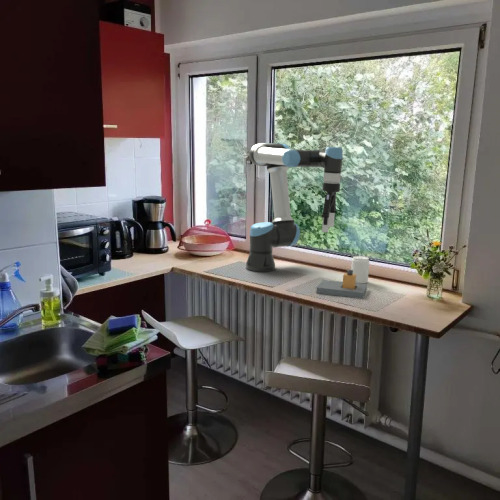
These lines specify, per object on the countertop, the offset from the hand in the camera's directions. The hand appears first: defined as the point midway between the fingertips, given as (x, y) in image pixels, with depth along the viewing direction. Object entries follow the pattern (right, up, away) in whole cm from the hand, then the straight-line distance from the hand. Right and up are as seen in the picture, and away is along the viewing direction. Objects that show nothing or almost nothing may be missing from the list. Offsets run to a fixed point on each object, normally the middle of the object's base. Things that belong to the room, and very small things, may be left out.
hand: (327, 229), depth 227 cm
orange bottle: (+8, -28, -8) cm, 30 cm away
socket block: (+5, -28, -7) cm, 29 cm away
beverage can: (+16, -25, +9) cm, 31 cm away
